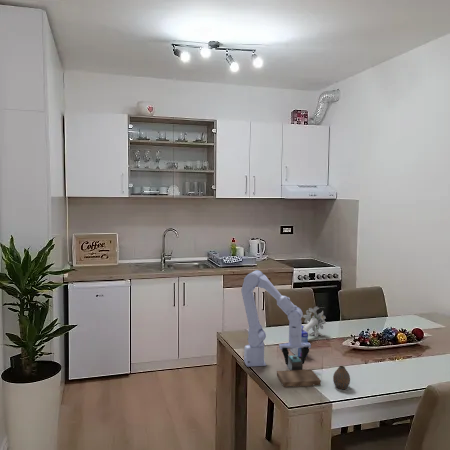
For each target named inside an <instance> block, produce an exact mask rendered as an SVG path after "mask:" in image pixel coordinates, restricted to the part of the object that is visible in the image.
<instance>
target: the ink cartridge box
mask: <svg viewBox="0 0 450 450" xmlns="http://www.w3.org/2000/svg"><path fill="white" fill-rule="evenodd" d="M304 326H305V325H302V335H301V342H303V343H309V332H308V333H307V332H306V331H304V330H303V327H304ZM289 351H290V353H292V354H294V355H296V356H298V357H299V358H301V356H302V354H301V348H292V349H289ZM307 357H308V355H307V356H306V358H307Z"/></svg>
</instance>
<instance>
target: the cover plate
mask: <svg viewBox="0 0 450 450" xmlns="http://www.w3.org/2000/svg"><path fill="white" fill-rule="evenodd" d="M288 356H289V358H290V360H291V361H292V362H301V358H300V357H299V358H300V359H299V358H298V357H297V356H296V355H295V354H294V355H288Z"/></svg>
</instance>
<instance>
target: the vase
mask: <svg viewBox="0 0 450 450" xmlns="http://www.w3.org/2000/svg"><path fill="white" fill-rule="evenodd" d="M332 381H333V384H334V386H335V388H337V389H339V390H345V389H347V388H348V387H349V386H350V384H351V375H350V373H349V372H348V371H347V369H346V367H345V366H344V365H339V366H338V368H337V369H336V370H335V371H334V373H333V377H332Z"/></svg>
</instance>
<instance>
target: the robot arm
mask: <svg viewBox="0 0 450 450" xmlns="http://www.w3.org/2000/svg"><path fill="white" fill-rule="evenodd" d="M256 288H259V289H260V288H261V289H264V290H265V291H267V293H268V294H270V296H271V297H273V298H274V299H275V300H276V305H277V306H278V307H279V309H281V310H282V312H284V314H285V315H287V319H288V321H289V323H288V342H286V343H279V344H278V345H279V346H278V348H279V350H281V352H282V355H283V357H284V362H285V364H286V366H287V365H288V356H289V353H290V352H289V350H290V349H292V348H301V354H302V356H301V357H300V360H301V361H302V362H303V365H305V362H306V358H307V357H308V354H309V352H310V349H312V347H311V346H312V344H311V343H310V342H308V343H303V342H301V335H302V326H303V325H302V318H303V315H304V314H303V311H302V309H301V308H300V307H298V306H297V305H295V304H294V303H293V302H292V300H291V298H290V296H287V295H282V294H281V292H280V291H279V290H278V288H277V287H275V286H274V284H273V283H272V282H271V281H270V279H269V278H268V277H267V275H266V274H264V273H263V271H261V270H259V269H256V270H253V271H251V272H250V273H248V274H246V276H245V277H243V283H242V287H241V291H240V292H241V296H242V301H243V306H244V310H245V314H246V318H247V319H246V320H247V324H248V330H247V334H248V337H247V342H248V344H246V345H244V347H243V348H244V349H243V350H244V351H243V362H244V364H245V365H246V367H248V368H249V367H265V366H267V364H266V361H265V342H264V341H265V339H266V337H267V336H266V335H267V334H266V332H265V331H264V329H263V325H262V324H261V323H260V320H259V314H258V309H257V306H256V302H255V300H256V299H255V296H254V290H255V289H256ZM306 356H307V357H306Z"/></svg>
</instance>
